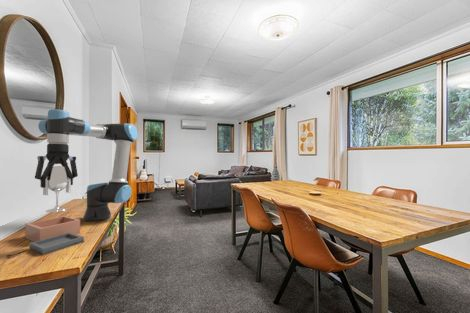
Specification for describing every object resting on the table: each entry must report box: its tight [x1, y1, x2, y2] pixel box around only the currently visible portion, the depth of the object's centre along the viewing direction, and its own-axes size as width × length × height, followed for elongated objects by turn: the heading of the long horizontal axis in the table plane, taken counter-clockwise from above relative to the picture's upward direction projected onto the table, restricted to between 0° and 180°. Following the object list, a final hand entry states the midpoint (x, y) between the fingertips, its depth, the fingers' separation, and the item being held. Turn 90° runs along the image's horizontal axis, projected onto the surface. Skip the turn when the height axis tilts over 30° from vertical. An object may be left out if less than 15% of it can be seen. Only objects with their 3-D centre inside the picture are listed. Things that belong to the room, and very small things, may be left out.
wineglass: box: [45, 165, 68, 213], centre depth 95 cm, size 8×8×20 cm
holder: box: [24, 215, 81, 242], centre depth 106 cm, size 16×16×7 cm
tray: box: [29, 232, 85, 256], centre depth 94 cm, size 15×13×2 cm
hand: (57, 193), depth 94 cm, fingers closed on wineglass, 8 cm apart
